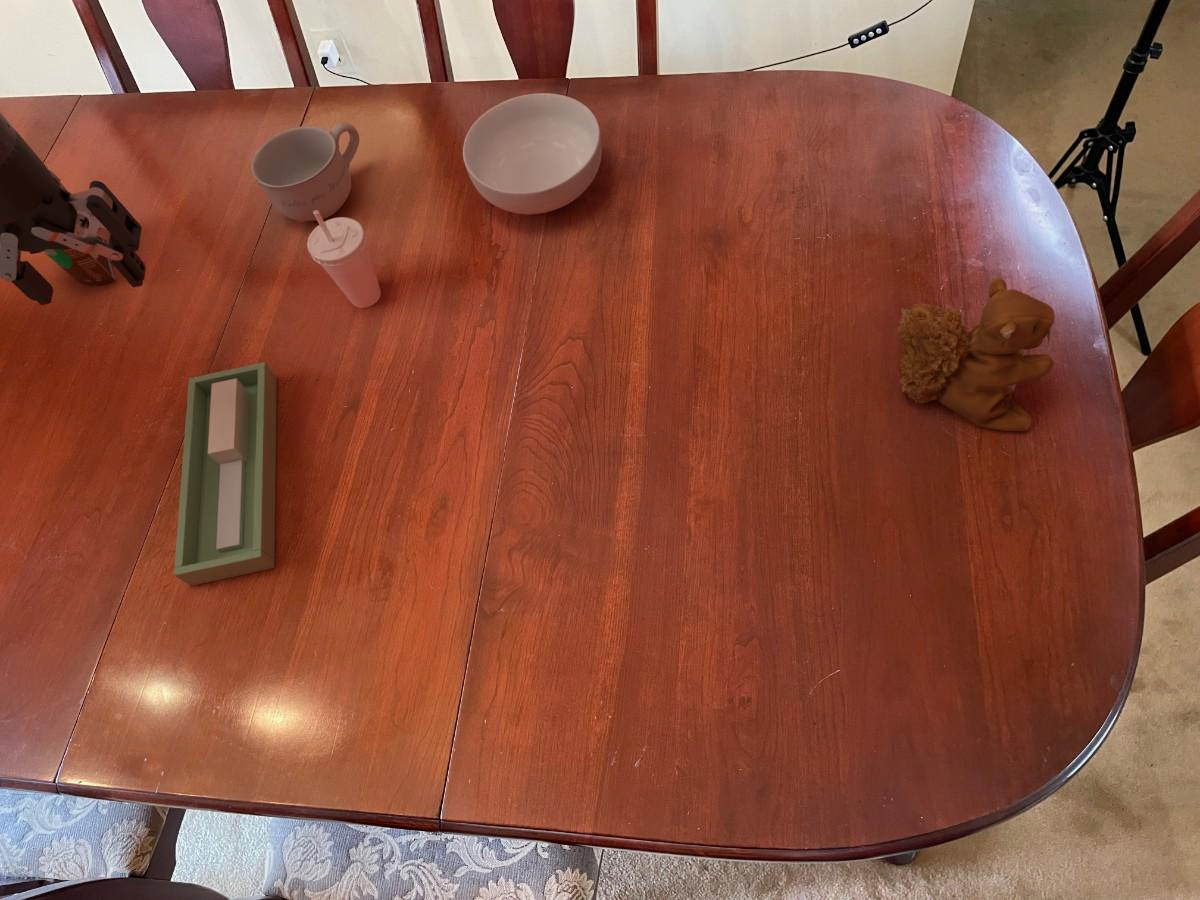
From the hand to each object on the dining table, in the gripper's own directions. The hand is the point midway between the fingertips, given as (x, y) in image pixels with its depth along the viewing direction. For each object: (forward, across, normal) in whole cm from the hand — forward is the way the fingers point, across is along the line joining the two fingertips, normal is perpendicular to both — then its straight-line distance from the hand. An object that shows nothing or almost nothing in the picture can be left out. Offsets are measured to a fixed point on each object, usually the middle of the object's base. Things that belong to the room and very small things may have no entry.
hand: (93, 288), depth 78 cm
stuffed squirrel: (+18, -80, +18) cm, 84 cm away
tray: (+20, -5, +10) cm, 23 cm away
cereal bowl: (+19, -42, -23) cm, 52 cm away
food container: (+20, +17, -25) cm, 36 cm away
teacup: (+20, -15, -29) cm, 38 cm away
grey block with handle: (+19, -5, +10) cm, 22 cm away
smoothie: (+20, -19, -11) cm, 30 cm away
